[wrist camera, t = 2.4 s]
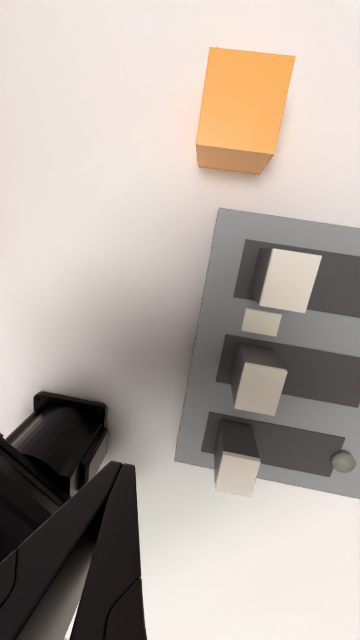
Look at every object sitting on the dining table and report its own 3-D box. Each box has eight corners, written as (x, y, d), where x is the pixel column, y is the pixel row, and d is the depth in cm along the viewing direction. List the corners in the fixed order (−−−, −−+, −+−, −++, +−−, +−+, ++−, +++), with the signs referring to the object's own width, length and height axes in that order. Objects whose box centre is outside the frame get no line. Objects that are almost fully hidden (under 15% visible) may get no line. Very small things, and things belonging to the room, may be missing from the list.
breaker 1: (249, 294, 17) (259, 305, 14) (260, 247, 16) (273, 248, 13) (285, 300, 17) (305, 313, 14) (298, 253, 16) (322, 256, 13)
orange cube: (198, 166, 17) (195, 144, 13) (208, 94, 16) (209, 47, 12) (259, 175, 17) (274, 154, 13) (274, 102, 16) (295, 56, 12)
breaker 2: (230, 380, 19) (234, 408, 16) (238, 342, 18) (245, 364, 15) (262, 386, 19) (274, 416, 16) (272, 348, 18) (287, 371, 15)
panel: (176, 447, 23) (172, 473, 21) (218, 210, 18) (220, 204, 15) (410, 495, 22) (437, 527, 20) (536, 257, 16) (597, 259, 14)
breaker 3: (213, 450, 21) (215, 489, 18) (220, 419, 20) (223, 454, 17) (243, 456, 21) (250, 497, 17) (251, 425, 20) (260, 462, 17)
